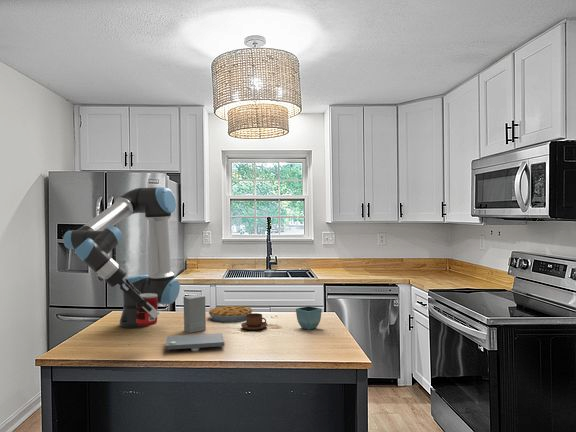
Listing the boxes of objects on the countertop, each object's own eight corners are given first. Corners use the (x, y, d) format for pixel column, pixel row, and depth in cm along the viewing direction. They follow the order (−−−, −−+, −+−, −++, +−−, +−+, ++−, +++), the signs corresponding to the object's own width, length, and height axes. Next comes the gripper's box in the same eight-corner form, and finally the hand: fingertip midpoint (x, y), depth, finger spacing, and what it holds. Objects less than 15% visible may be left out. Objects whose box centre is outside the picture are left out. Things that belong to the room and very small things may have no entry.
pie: (240, 324, 224) (240, 314, 224) (200, 321, 231) (200, 310, 231) (259, 315, 244) (259, 305, 244) (221, 312, 252) (221, 302, 252)
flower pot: (308, 331, 209) (308, 311, 209) (295, 328, 215) (295, 308, 215) (322, 328, 215) (322, 308, 215) (309, 324, 221) (309, 305, 221)
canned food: (159, 321, 185) (159, 293, 185) (153, 326, 177) (154, 296, 177) (139, 321, 185) (140, 293, 185) (133, 325, 177) (133, 296, 177)
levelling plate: (167, 343, 191) (167, 335, 191) (222, 340, 195) (222, 332, 195) (165, 353, 177) (165, 344, 177) (224, 349, 182) (224, 341, 182)
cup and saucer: (269, 325, 221) (269, 312, 221) (265, 332, 209) (265, 318, 209) (243, 325, 223) (243, 312, 222) (238, 331, 211) (238, 317, 211)
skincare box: (200, 327, 217) (200, 293, 217) (206, 331, 211) (206, 295, 211) (182, 330, 212) (182, 295, 212) (188, 333, 206) (188, 297, 206)
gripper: (105, 276, 185) (147, 315, 191) (103, 284, 166) (150, 327, 171) (119, 262, 187) (161, 301, 193) (120, 268, 168) (166, 311, 173)
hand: (156, 313), depth 182 cm, fingers closed on canned food, 8 cm apart
